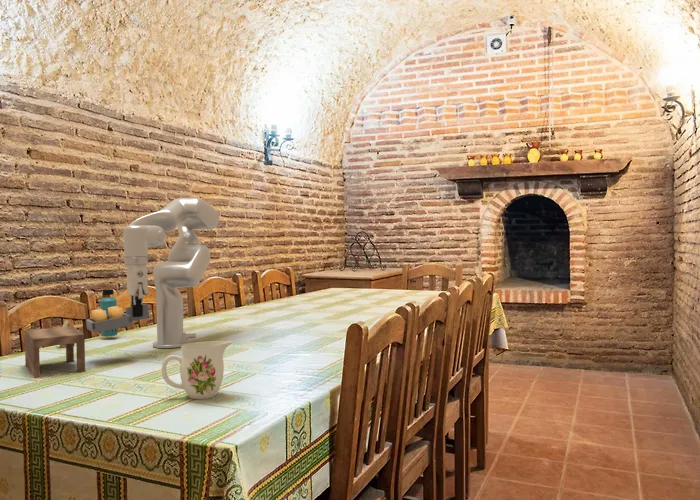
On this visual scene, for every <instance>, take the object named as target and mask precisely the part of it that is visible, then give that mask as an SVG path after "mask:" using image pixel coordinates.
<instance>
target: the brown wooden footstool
mask: <svg viewBox="0 0 700 500" xmlns="http://www.w3.org/2000/svg"><path fill="white" fill-rule="evenodd" d="M85 336H86V335H85V334H84V333H83V332H81V331H80V330H78V329H77V328H75V327H74V326H73V325H72V326H71V325H70V327H62V326H59V327H49V328H37V329H36V328H35V329H25V330H24V350H25V351H24V355H25V356H24V357H25V360H24V361H25V368H27V370H28V371H29V373H30V374H31V376H32V377H33V378H35V379H36V378H40V377H41V372H40V371H41V368H40V367H41V366H40V365H41V364H40V347H49V346H60V345H61V344H66V348H65V361H66V362H67V363H70V362H75V356H74V355H75V353H74V352H75V351H76V371H77V372H78V373H82V372H86V350H85V349H86V348H85V347H86V346H85V345H86V344H85V343H86V342H85V341H86V340H85ZM74 343H75V344H76V350H75V349H74V347H75V344H74ZM74 350H75V351H74Z"/></svg>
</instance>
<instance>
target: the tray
mask: <svg viewBox="0 0 700 500" xmlns="http://www.w3.org/2000/svg"><path fill="white" fill-rule="evenodd" d="M124 309H125V312H124V311H123V310H124ZM124 309H123V307H122V306H121V307H120V306H119V305H117V306H113V307H109V308H108V312H109V315H107V316H106V311H105V310H104V311H103V310H102V309H101V308H97V309H93V310H91V316H92V317H91V318H88V319H87V318H86V319H85V325H86V330H88V331H89V332H90V333H92V334H95V333H101V331H106V330H111V329H116V328H118V329H121V328H126V327H130V326H133V323H132V322H135V321H141V320H145V319H150V312H149V311H150V310H149V304H148V303H143V316H142V317H133V306H131V305H129V306H125V307H124Z"/></svg>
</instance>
